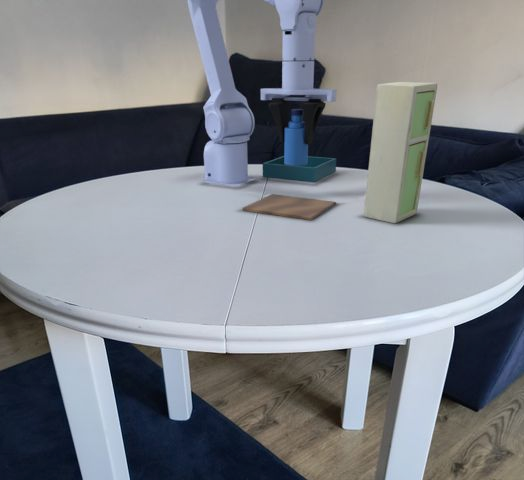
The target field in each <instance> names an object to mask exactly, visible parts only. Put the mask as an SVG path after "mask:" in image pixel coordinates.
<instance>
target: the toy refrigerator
mask: <svg viewBox="0 0 524 480" xmlns="http://www.w3.org/2000/svg"><path fill="white" fill-rule="evenodd" d="M437 91H438V83H437V82H419V81H417V82H416V81H395V82H386V83H378V84H377V86H376V91H375V101H374V109H373V110H374V111H373V121H372V130H371V139H370V140H371V141H370V150H369V151H370V152H369V160H368V168H367V169H368V171H367V180H366V189H365V198H364V208H363V216H364V217H365V218H368V219H374V220H377V221H382V222H387V223H390V224H391V223H392V224H398V223H399V222H402V221H404V220H406V219H408V218H411V217H413V216H414V215H416V214H417V213H418V208H419V203H420V195H421V189H422V183H423V179H424V178H423V177H424V170H425V164H426V159H427V152H428V147H429V140H430V134H431V128H432V122H433V117H434V111H435V110H434V109H435V105H436V104H435V103H436V96H437Z"/></svg>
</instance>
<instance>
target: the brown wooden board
mask: <svg viewBox="0 0 524 480" xmlns="http://www.w3.org/2000/svg"><path fill="white" fill-rule="evenodd" d="M335 205H336V201H332V200H324V199H314V198H307V197H299V196H291V195H290V196H289V195H284V194H283V195H282V194H274V193H272V194H270V195H267V196H265V197H263V198H261V199H259V200H257V201H255V202H253V203H251V204H248V205H246V206H244V207H242V211H243V212H249V213H250V212H251V213H255V214H256V213H257V214H264V215H271V216H278V217H285V218H292V219H299V220H307V221H312V220H314V219H315V218H317V217H318V216H320V215H321V214H323V213H325V212H326V211H327V210H329V209H331V208H332V207H334V206H335Z"/></svg>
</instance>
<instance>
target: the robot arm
mask: <svg viewBox="0 0 524 480" xmlns="http://www.w3.org/2000/svg"><path fill="white" fill-rule="evenodd" d="M263 1H264V2H266V3H267V4H270V5H271V6H273V7H274V8H276V12H277V13H278V16H279V19H280V20H279V26H280V28H281V30H282V52H281V53H282V58H281V59H282V62H281V63H282V65H281V66H282V68H281V73H282V74H281V78H282V79H281V82H282V83H281V87H275V88H274V87H271V88H269V87H267V88H266V87H265V88H260V101H270V102H269V103H268V108H269V111H270V112H271V114H272V117H273V119H274V121H275V124H276V127H277V131H278V136H279V141H280V143H281V144H282V143H283V144H285V127H288V122H290V116H291V109H292V103H293V101H296V102H303V103H302V108H303V118H304V122H305V136H304V141H305V144H308V145H310V144H313V140H314V135H315V132H316V128H317V125H318V123H319V120H320V118H321V115H322V114H323V112H324V110H325V108H326V104H327V103H333V102H336V101H337V89H335V88H333V89H332V88H315V87H314V80H315V79H314V78H315V77H314V75H315V49H316V28H317V27H316V23H317V16H318V15H319V14H320V13H321V11H322V8H323V5H324V0H263ZM186 2H187V7H188V12H189V15H190V20H191V23H192V27H193V31H194V34H195V40H196V42H197V46H198V50H199V55H200V58H201V62H202V66H203V70H204V74H205V78H206V81H207V86H208V90H209V94H210V96H209V98H208V99H207V101H206V102H205V104H204V105H203V107H202V108H203V113H204V118H205V120H204V126H205V131H206V134H207V135H208V137H209V138H210V140H209V141H207V142H206V143H205V146H204V150H203V165H204V166H203V167H204V180H203V183H210V184H217V185H227V186H233V187H239V186H242V185H244V184H247V183H249V182H252V181H254V180H256V178H253V177H249V163H248V162H249V160H248V157H249V156H248V141H250V140H251V139H250V137H251V135H252V134H253V133H254V130H255V124H256V123H255V122H256V121H255V116H254V113H253V112H252V110H251V108H250V106H249V103H248V100H247V98H246V96H244V95H243V94H242V93H241V92H240V91H238V90H237V88H236V85H235V81H234V76H233V72H232V68H231V64H230V60H229V57H228V53H227V52H228V51H227V48H226V44H225V41H224V36H223V32H222V28H221V23H220V20H219V15H218V10H217V4H218V2H220V0H186ZM293 96H296V97H293ZM297 96H298V97H297ZM299 96H304V97H299Z"/></svg>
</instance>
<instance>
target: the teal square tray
mask: <svg viewBox="0 0 524 480" xmlns="http://www.w3.org/2000/svg"><path fill="white" fill-rule="evenodd" d="M336 172H337V158H335V157H321V156H310V155H308V163H307V164H306V165H300V166H292V165H286V164H284V155H282V156H279V157H277V158H274V159H272V160H268V161H266V162H263V163H262V178H267V179H268V178H269V179H277V180H278V179H279V180H287V181H295V182H296V181H297V182H304V183H305V182H306V183H317V182H319V181H321V180H322V179H324V178H326V177H328V176H330V175H333V174H334V173H336Z"/></svg>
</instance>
